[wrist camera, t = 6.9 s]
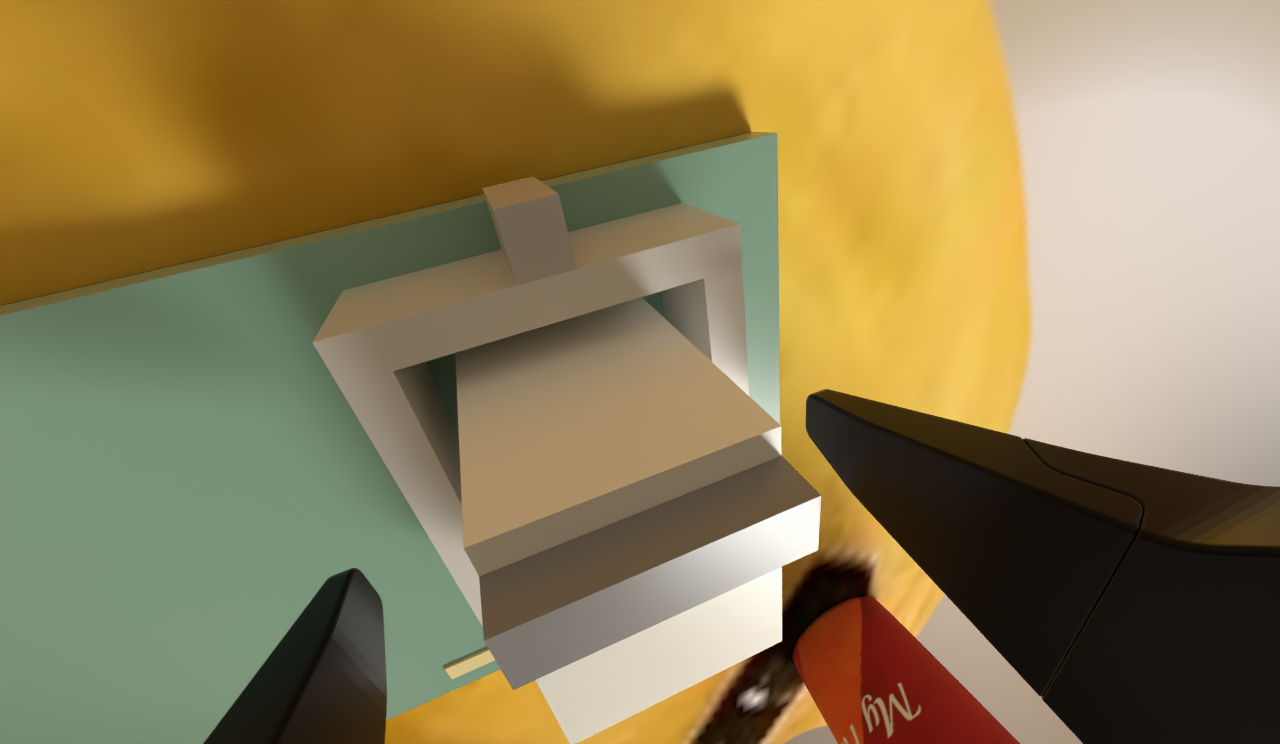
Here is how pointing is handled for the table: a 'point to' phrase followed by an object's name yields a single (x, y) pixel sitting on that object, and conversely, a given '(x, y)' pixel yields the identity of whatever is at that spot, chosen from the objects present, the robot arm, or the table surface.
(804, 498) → the plug
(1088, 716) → the robot arm
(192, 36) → the table surface
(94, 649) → the board
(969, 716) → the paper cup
